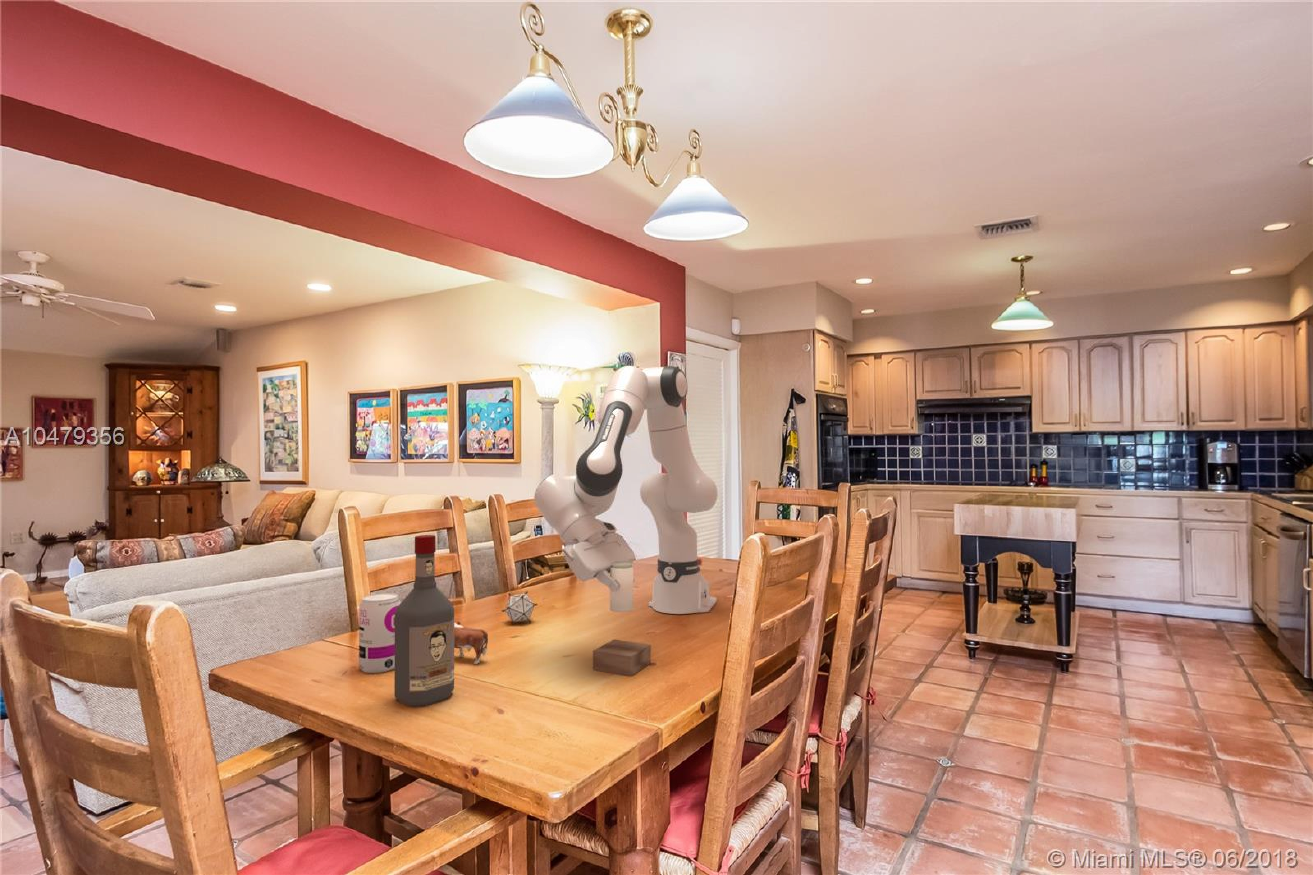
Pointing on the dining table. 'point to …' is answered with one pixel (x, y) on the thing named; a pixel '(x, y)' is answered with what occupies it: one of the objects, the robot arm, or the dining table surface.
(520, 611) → the game die
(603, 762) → the dining table surface
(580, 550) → the robot arm
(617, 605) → the jar
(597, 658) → the plinth
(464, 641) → the bull figurine
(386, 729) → the dining table surface
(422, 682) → the liquor
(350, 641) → the dining table surface
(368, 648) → the supplement can
